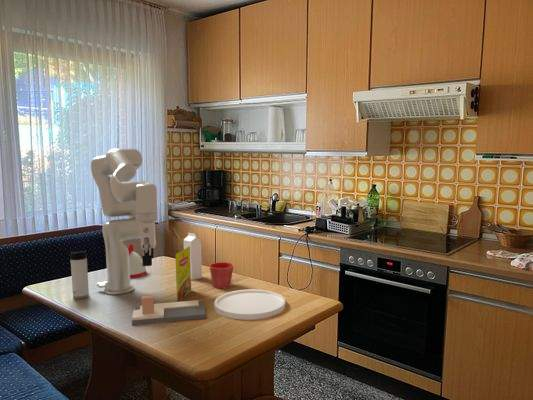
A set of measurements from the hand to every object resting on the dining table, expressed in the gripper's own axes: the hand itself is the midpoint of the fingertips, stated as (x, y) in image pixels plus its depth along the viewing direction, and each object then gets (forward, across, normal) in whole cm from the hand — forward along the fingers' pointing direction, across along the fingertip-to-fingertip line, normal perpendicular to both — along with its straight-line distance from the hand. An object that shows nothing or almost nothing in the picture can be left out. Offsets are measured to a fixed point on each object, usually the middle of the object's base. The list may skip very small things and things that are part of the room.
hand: (148, 262), depth 159 cm
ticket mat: (+20, -3, -7) cm, 21 cm away
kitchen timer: (+22, +56, +13) cm, 61 cm away
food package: (+20, +16, -13) cm, 29 cm away
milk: (+21, +42, -18) cm, 51 cm away
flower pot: (+21, +27, -30) cm, 45 cm away
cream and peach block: (+18, -6, 0) cm, 19 cm away
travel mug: (+21, +26, +30) cm, 45 cm away
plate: (+20, -1, -38) cm, 43 cm away
